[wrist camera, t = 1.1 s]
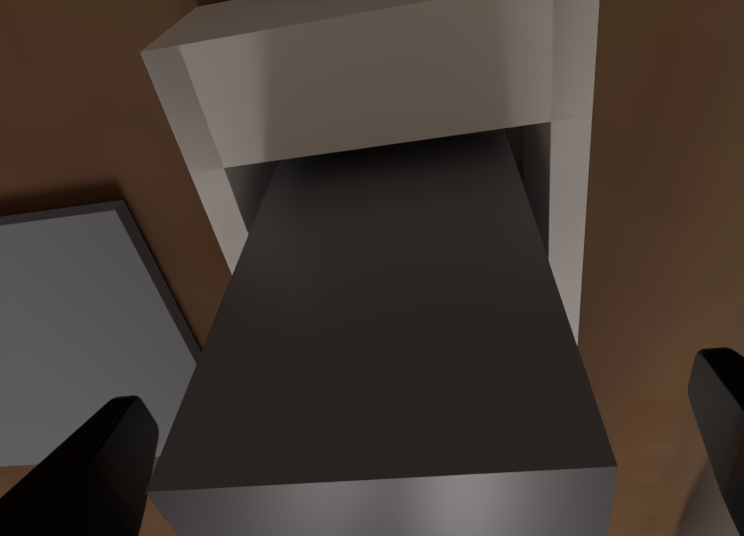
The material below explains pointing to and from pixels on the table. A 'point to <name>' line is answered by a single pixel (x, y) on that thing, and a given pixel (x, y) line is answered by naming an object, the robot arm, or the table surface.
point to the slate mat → (83, 327)
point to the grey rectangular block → (390, 362)
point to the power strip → (382, 97)
